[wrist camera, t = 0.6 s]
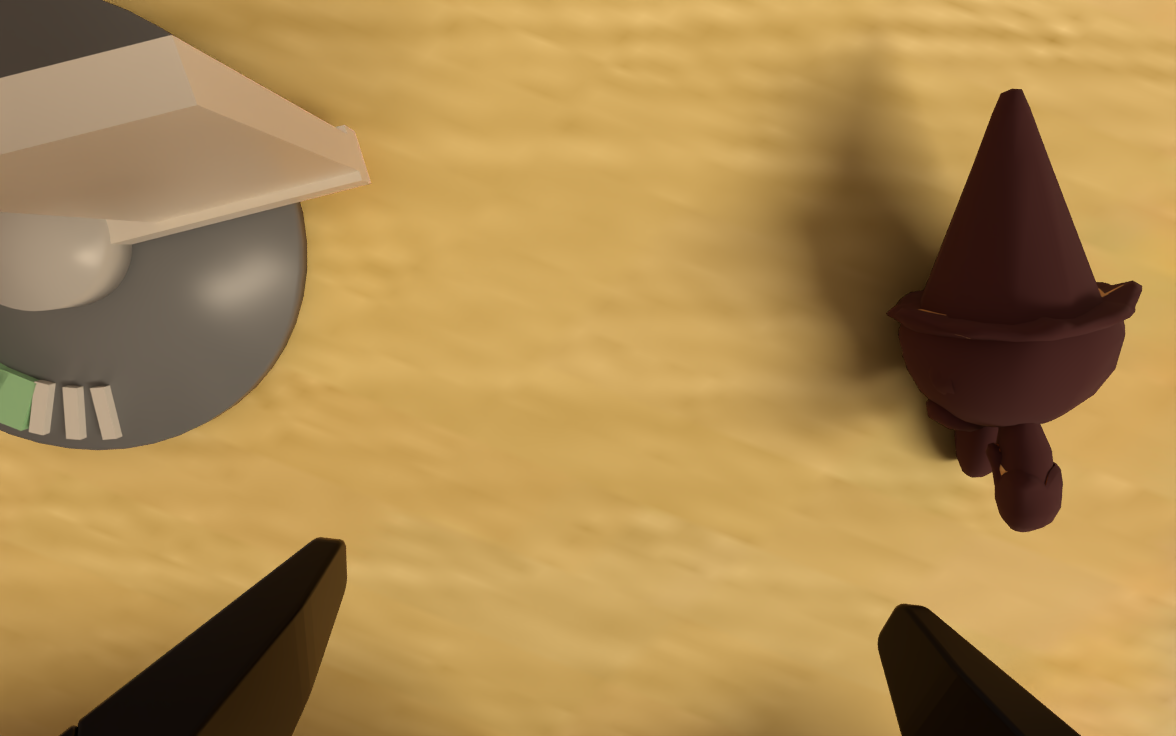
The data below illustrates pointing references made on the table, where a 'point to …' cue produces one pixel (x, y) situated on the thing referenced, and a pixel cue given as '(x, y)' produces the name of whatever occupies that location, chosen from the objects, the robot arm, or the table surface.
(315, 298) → the table surface
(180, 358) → the tuner dial
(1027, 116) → the maroon gnome figurine
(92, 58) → the rotary selector knob
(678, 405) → the table surface
